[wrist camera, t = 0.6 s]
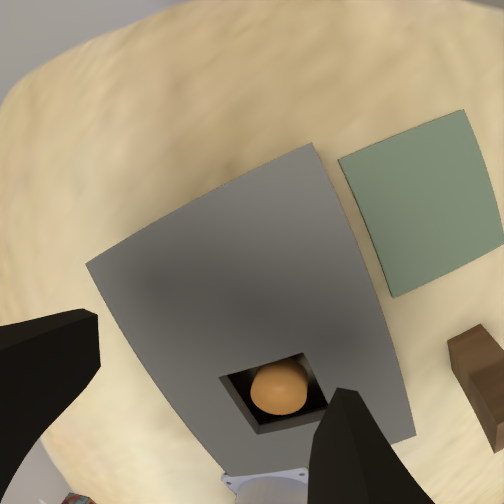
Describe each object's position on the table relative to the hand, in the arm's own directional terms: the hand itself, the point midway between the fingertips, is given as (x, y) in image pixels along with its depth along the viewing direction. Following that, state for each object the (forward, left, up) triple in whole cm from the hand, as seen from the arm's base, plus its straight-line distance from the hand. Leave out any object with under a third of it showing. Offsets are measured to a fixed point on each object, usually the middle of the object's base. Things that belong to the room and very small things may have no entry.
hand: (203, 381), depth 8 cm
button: (-5, +1, -7) cm, 9 cm away
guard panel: (-3, +1, -10) cm, 10 cm away
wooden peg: (-10, -10, -10) cm, 18 cm away
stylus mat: (0, -10, -10) cm, 14 cm away
